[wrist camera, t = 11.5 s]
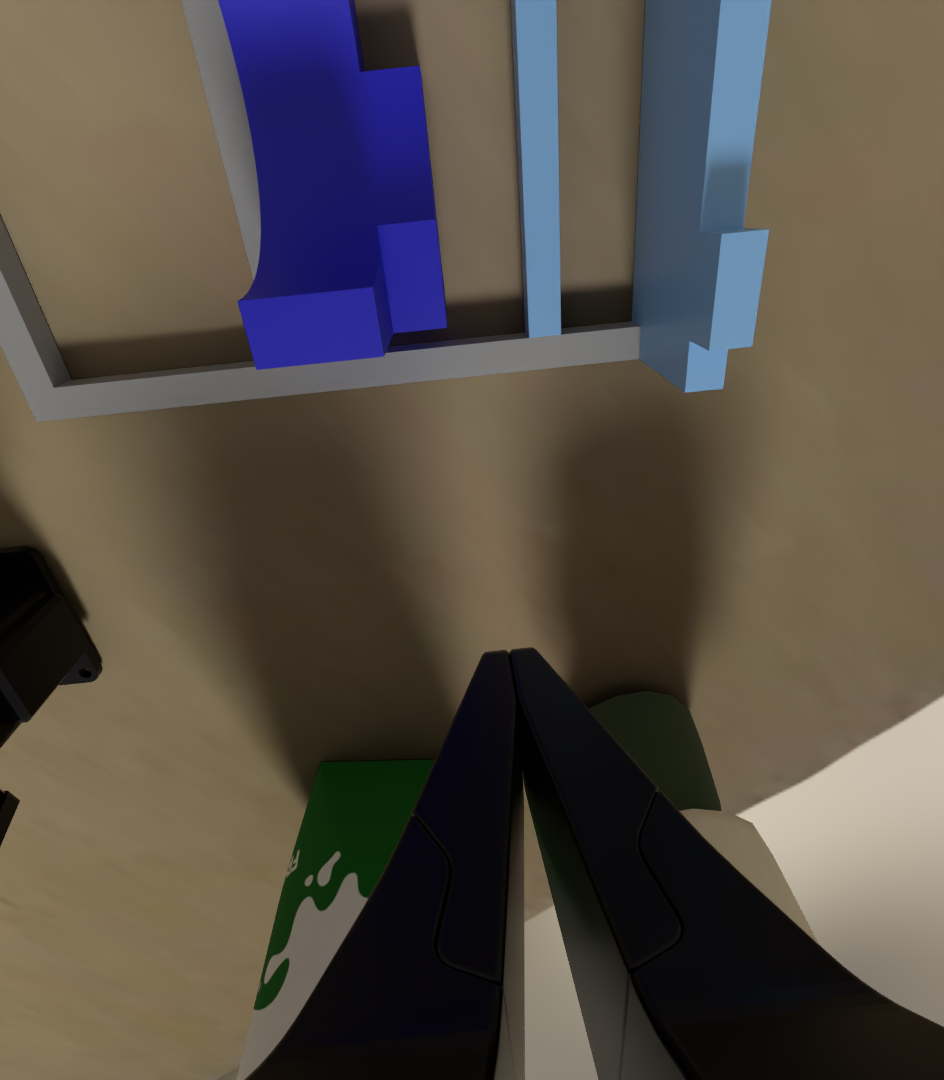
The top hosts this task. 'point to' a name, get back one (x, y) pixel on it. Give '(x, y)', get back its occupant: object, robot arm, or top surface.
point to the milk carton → (329, 884)
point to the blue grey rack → (660, 239)
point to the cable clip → (333, 188)
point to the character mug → (693, 786)
